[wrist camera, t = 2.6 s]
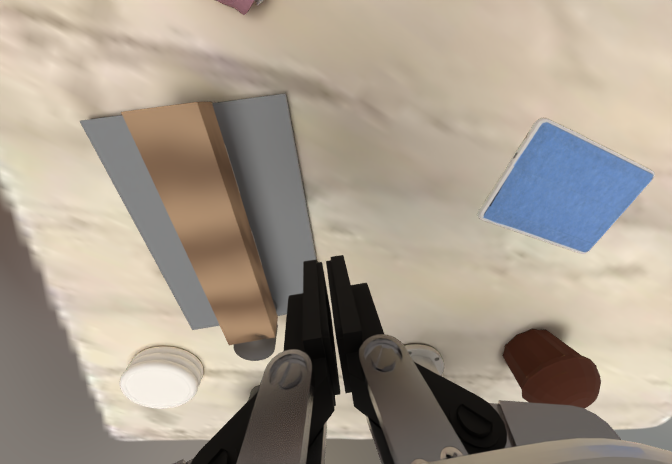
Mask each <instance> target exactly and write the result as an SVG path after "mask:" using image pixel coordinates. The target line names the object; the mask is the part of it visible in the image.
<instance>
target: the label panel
mask: <svg viewBox="0 0 672 464" xmlns="http://www.w3.org/2000/svg"><path fill="white" fill-rule="evenodd" d="M212 105H213V108H214V112H215V115H216V118H217V121H218V125H219V128H220V131H221V134H222V137H223V141H224V144H225V147H226V150H227V154H228V157H229V160H230V163H231V167H232V170H233V173H234V176H235V180H236V183H237V186H238V189H239V193H240V196H241V199H242V202H243V206H244V209H245V212H246V215H247V219H248V222H249V225H250V228H251V232H252V235H253V238H254V241H255V245H256V248H257V251H258V254H259V257H260V261H261V264H262V267H263V270H264V274H265V277H266V280H267V283H268V287H269V290H270V293H271V296H272V300H273V303H274V306H275V309H276V313H277V316H280V315H286V314H287V306H288V297H289V295H295V294H301V293H303V262H304V261H309V260H315V259H316V253H315V248H314V242H313V237H312V232H311V226H310V221H309V215H308V210H307V204H306V199H305V194H304V188H303V183H302V177H301V172H300V167H299V161H298V156H297V150H296V145H295V139H294V134H293V129H292V123H291V118H290V112H289V107H288V101H287V96H286V94H278V95H271V96H263V97H256V98H248V99H241V100H233V101H226V102H218V103H212ZM80 123H81V125H82V127H83V128H84V130H85V132H86V134H87V136H88V138H89V140H90V141H91V143H92V145H93V147H94V149H95V151H96V152H97V154H98V156H99V158H100V160H101V162H102V164H103V165H104V167H105V169H106V171H107V173H108V175H109V177H110V178H111V180H112V182H113V184H114V186H115V188H116V190H117V191H118V193H119V195H120V197H121V199H122V201H123V202H124V204H125V206H126V208H127V210H128V212H129V214H130V215H131V217H132V219H133V221H134V223H135V225H136V227H137V228H138V230H139V232H140V234H141V236H142V238H143V239H144V241H145V243H146V245H147V247H148V249H149V251H150V252H151V254H152V256H153V258H154V260H155V262H156V264H157V265H158V267H159V269H160V271H161V273H162V275H163V277H164V278H165V280H166V282H167V284H168V286H169V288H170V289H171V291H172V293H173V295H174V297H175V299H176V301H177V302H178V304H179V306H180V308H181V310H182V312H183V314H184V315H185V317H186V319H187V321H188V323H189V325H190V326H191V328H192V330H195V329H202V328H208V327H214V326H220V325H219V323H218V320H217V318H216V316H215V314H214V312H213V310H212V307H211V305H210V303H209V301H208V299H207V297H206V294H205V292H204V290H203V288H202V286H201V284H200V282H199V279H198V277H197V275H196V273H195V271H194V269H193V266H192V264H191V262H190V260H189V258H188V256H187V253H186V251H185V249H184V247H183V245H182V243H181V241H180V238H179V236H178V234H177V232H176V230H175V228H174V225H173V223H172V221H171V219H170V217H169V215H168V213H167V210H166V208H165V206H164V204H163V202H162V200H161V197H160V195H159V193H158V191H157V189H156V187H155V184H154V182H153V180H152V178H151V176H150V174H149V172H148V169H147V167H146V165H145V163H144V161H143V159H142V156H141V154H140V152H139V150H138V148H137V146H136V143H135V141H134V139H133V137H132V135H131V133H130V131H129V128H128V126H127V124H126V122H125V120H124V118H123V115H120V116H112V117H105V118H97V119H90V120H82V121H80ZM316 260H317V259H316Z"/></svg>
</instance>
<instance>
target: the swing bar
mask: <svg viewBox="0 0 672 464" xmlns="http://www.w3.org/2000/svg"><path fill="white" fill-rule="evenodd" d="M121 113H122V115H123V118H124V120H125V122H126V124H127V126H128V128H129V131H130V133H131V135H132V137H133V139H134V141H135V143H136V146H137V148H138V150H139V152H140V154H141V156H142V159H143V161H144V163H145V165H146V167H147V169H148V172H149V174H150V176H151V178H152V180H153V182H154V184H155V187H156V189H157V191H158V193H159V195H160V197H161V200H162V202H163V204H164V206H165V208H166V210H167V213H168V215H169V217H170V219H171V221H172V223H173V225H174V228H175V230H176V232H177V234H178V236H179V238H180V241H181V243H182V245H183V247H184V249H185V251H186V253H187V256H188V258H189V260H190V262H191V264H192V266H193V269H194V271H195V273H196V275H197V277H198V279H199V282H200V284H201V286H202V288H203V290H204V292H205V294H206V297H207V299H208V301H209V303H210V305H211V307H212V310H213V312H214V314H215V316H216V318H217V320H218V323H219V325H220V327H221V329H222V331H223V333H224V335H225V338H226V340H227V342H228V344H229V345H233V344H234V351H235V352H236V354H237V355H238V356H240V357H241V358H243V359H246V360H251V361H258V360H263V359H266V358H268V357H269V356H271V355H272V354H273V352H274V350H275V343H276V335H277V327H278V325H277V319H278V316H277V313H276V309H275V306H274V303H273V300H272V296H271V293H270V290H269V287H268V283H267V280H266V277H265V274H264V270H263V267H262V264H261V261H260V257H259V254H258V251H257V248H256V245H255V241H254V238H253V235H252V232H251V228H250V225H249V222H248V219H247V215H246V212H245V209H244V206H243V202H242V199H241V196H240V193H239V189H238V186H237V183H236V180H235V176H234V173H233V170H232V167H231V163H230V160H229V157H228V154H227V150H226V147H225V144H224V141H223V137H222V134H221V131H220V128H219V125H218V121H217V118H216V115H215V112H214V108H213V105H212V102H193V103H185V104H178V105H170V106H163V107H155V108H147V109H140V110H132V111H125V112H121Z"/></svg>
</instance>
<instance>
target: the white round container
mask: <svg viewBox="0 0 672 464" xmlns="http://www.w3.org/2000/svg"><path fill="white" fill-rule="evenodd" d="M202 377H203V365H202V363H201V362H200V360H199V359H198V358H197V357H196V356H194V355H193V354H192V353H190V352H188V351H186V350H183V349H180V348H176V347H169V346H159V347H153V348H149V349H146V350H143V351H141V352H140V353H138V354H137V355H136V356H135V357H134V358H133V359H132V361H131V363H130V364H129V365H128V367H127V369H126V371H125V372H124V373H123V374H122V376H121V378H120V388H121V390H122V392H123V394H124V395H125V396H126V397H127V398H128V399H130V400H131V401H133V402H135V403H137V404H139V405H142V406H146V407H150V408H172V407H177V406H180V405H182V404H184V403H186V402H188V401H190V400H191V399H192V398H193V397H194V395H195V394H196V392H197V390H198V386H199V385H200V381H201V379H202Z"/></svg>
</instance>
